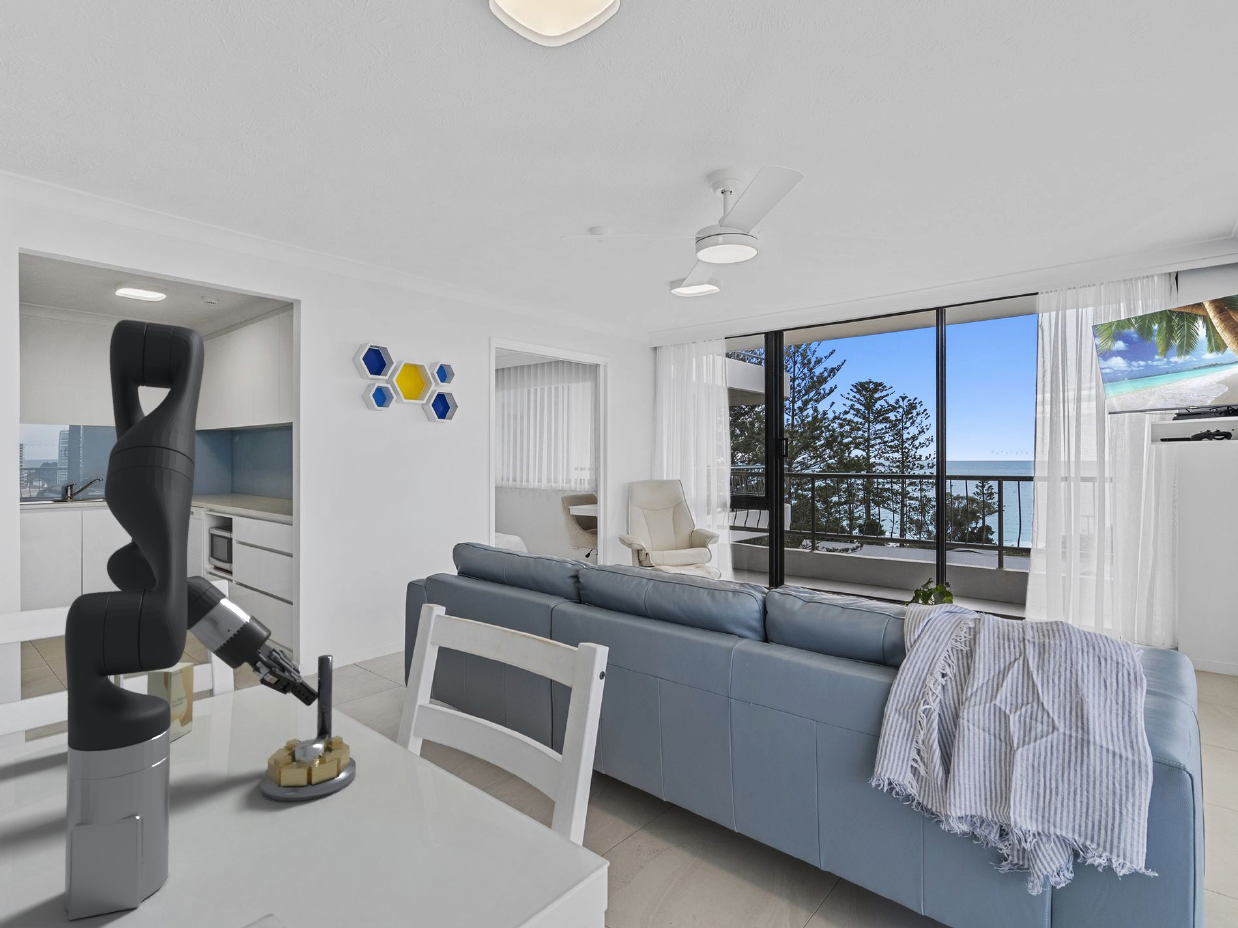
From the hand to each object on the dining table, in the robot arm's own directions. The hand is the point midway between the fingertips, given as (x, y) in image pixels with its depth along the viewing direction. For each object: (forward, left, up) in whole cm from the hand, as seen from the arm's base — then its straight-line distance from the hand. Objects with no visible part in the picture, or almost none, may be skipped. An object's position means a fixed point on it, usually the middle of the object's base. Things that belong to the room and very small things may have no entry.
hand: (313, 700), depth 110 cm
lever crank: (-8, -1, -7) cm, 10 cm away
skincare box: (+17, +24, -9) cm, 31 cm away
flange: (-10, 0, -9) cm, 14 cm away
